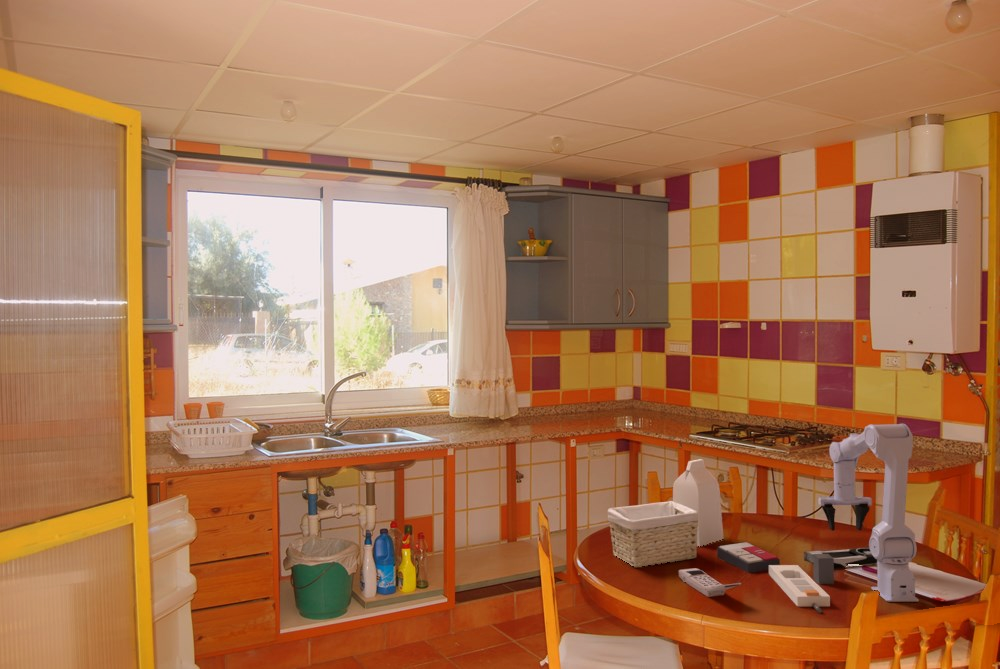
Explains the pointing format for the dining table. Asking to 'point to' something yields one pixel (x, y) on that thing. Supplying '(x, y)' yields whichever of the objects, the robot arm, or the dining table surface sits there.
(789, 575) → the power strip
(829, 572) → the plug
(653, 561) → the storage basket
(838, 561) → the graphics card
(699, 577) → the mobile phone
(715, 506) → the milk
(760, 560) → the dark grey box
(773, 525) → the dining table surface
